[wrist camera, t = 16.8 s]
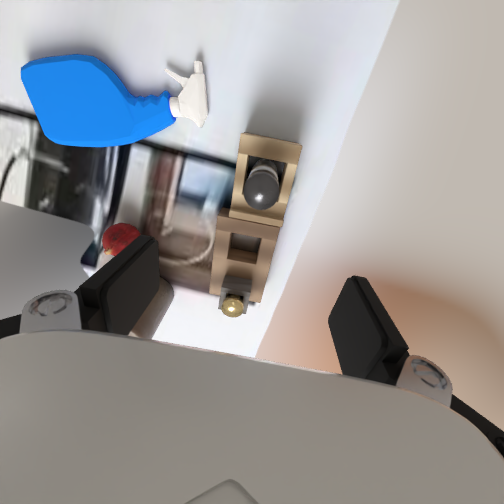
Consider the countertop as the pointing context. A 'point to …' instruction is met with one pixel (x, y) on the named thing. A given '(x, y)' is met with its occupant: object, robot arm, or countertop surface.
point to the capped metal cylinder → (262, 185)
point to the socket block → (241, 259)
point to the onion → (118, 237)
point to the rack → (290, 156)
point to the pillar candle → (154, 312)
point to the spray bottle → (104, 102)
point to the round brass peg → (232, 306)
